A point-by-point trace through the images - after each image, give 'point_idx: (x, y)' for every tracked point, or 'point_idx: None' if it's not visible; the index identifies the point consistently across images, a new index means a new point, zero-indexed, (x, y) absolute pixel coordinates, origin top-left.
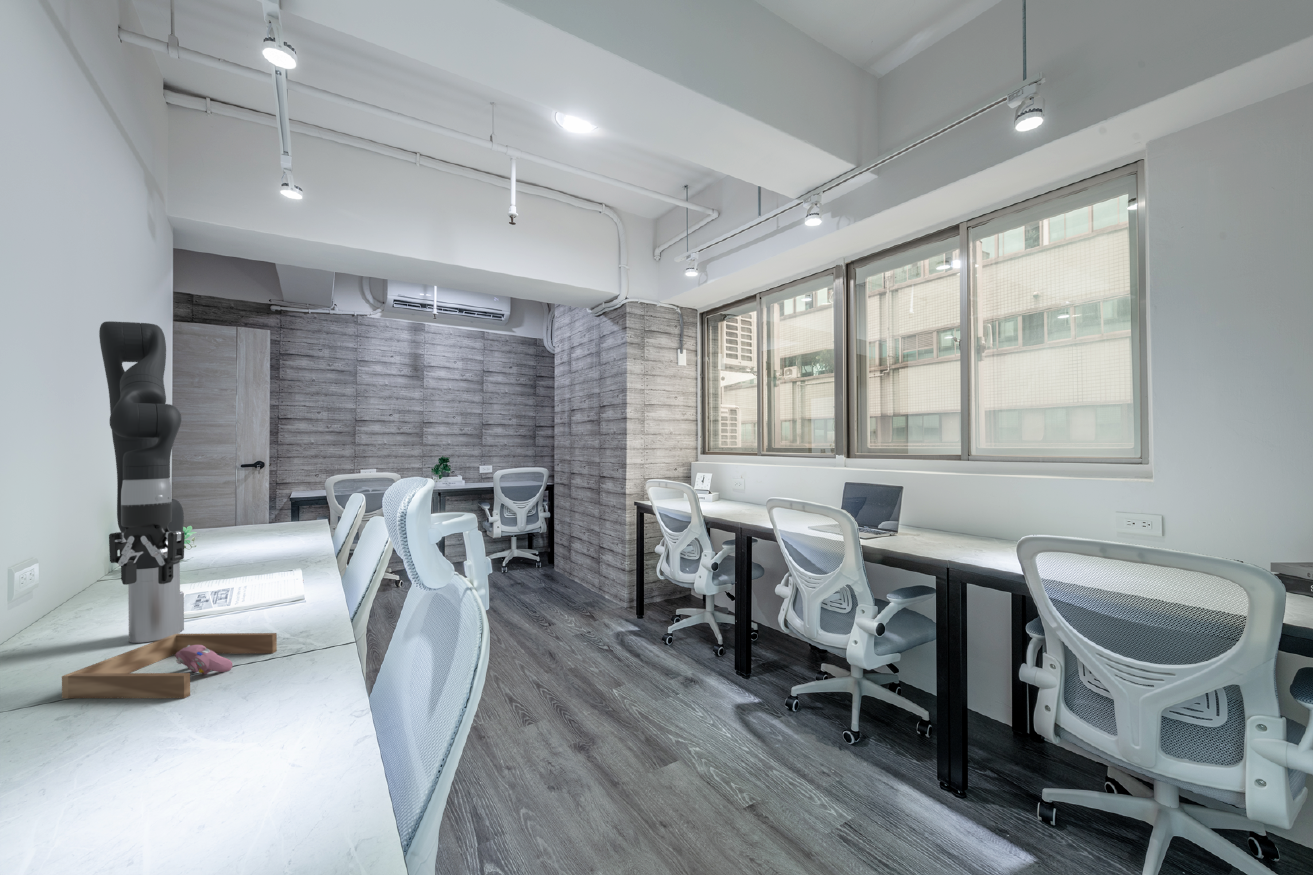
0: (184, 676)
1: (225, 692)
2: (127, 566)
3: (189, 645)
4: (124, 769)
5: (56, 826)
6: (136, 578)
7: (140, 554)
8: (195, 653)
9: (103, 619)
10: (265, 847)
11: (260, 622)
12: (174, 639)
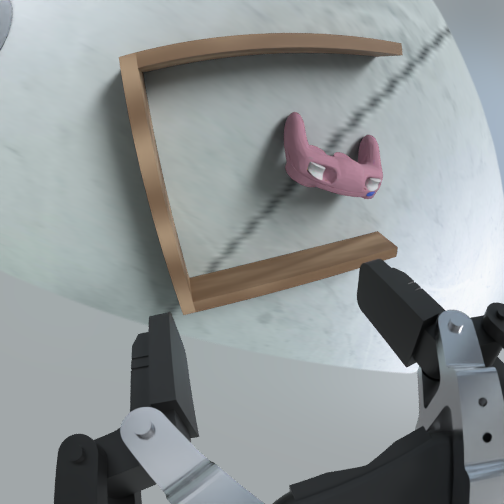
0: (395, 255)
1: (412, 213)
2: (195, 429)
3: (324, 169)
4: None
5: None
6: (170, 323)
7: (210, 462)
8: (365, 196)
9: None
10: None
11: None
12: (139, 73)
